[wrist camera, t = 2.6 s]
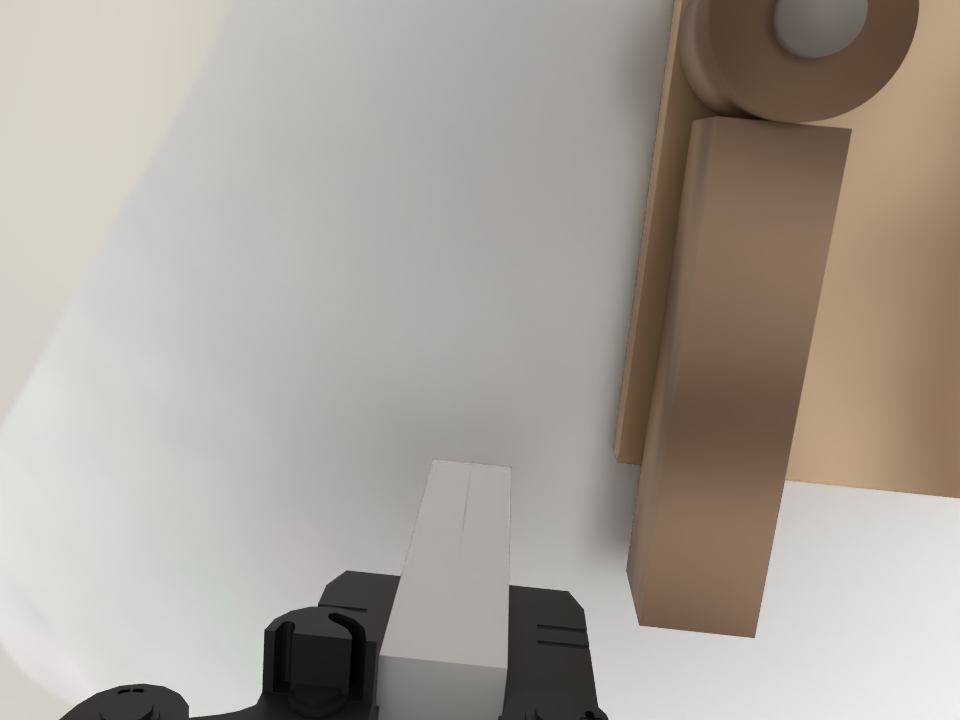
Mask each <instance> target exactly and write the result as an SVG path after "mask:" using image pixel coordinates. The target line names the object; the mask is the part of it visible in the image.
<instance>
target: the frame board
mask: <svg viewBox="0 0 960 720" xmlns="http://www.w3.org/2000/svg"><path fill="white" fill-rule="evenodd" d="M688 2H689V0H675V2H674V10H673V17H672V24H671V31H670V39H669V46H668V53H667V60H666V68H665V75H664V82H663V89H662V97H661V104H660V111H659V118H658V126H657V133H656V140H655V147H654V155H653V162H652V169H651V176H650V184H649V191H648V198H647V206H646V213H645V220H644V227H643V235H642V242H641V249H640V256H639V264H638V271H637V278H636V285H635V293H634V300H633V307H632V314H631V322H630V329H629V336H628V343H627V351H626V358H625V365H624V373H623V380H622V387H621V394H620V402H619V409H618V416H617V423H616V431H615V438H614V445H613V448H614V452H615V455H616V459H617V462H619V463H628V464H638V465H642V460H643V453H644V446H645V439H646V433H647V426H648V419H649V412H650V405H651V399H652V392H653V385H654V378H655V372H656V365H657V358H658V351H659V344H660V338H661V331H662V324H663V317H664V310H665V304H666V297H667V290H668V283H669V276H670V270H671V263H672V256H673V249H674V242H675V236H676V229H677V222H678V215H679V209H680V202H681V195H682V188H683V181H684V175H685V168H686V161H687V154H688V147H689V141H690V134H691V127H692V121H693V120H699V119H705V118H711V117H717V116H718V115H717V114H715V113H714V112H712V111H711V110H709V109H708V108H707V107H706V106H705V105H704V104H703V103H702V102H701V101H700V100H699V99H698V98H697V96H696V95H695V94H694V92H693V91H692V89H691V87H690V86H689V84H688V82H687V79H686V77H685V75H684V72H683V68H682V65H681V60H680V54H679V36H680V28H681V23H682V18H683V15H684V12H685V9H686V7H687V4H688ZM795 124H806V125H817V126H828V127H838V128H849V129H852V133H851V138H850V143H849V149H848V154H847V159H846V164H845V169H844V175H843V180H842V185H841V190H840V195H839V201H838V206H837V211H836V216H835V221H834V227H833V232H832V237H831V242H830V248H829V253H828V258H827V263H826V268H825V274H824V279H823V284H822V289H821V294H820V300H819V305H818V310H817V315H816V320H815V326H814V331H813V336H812V341H811V346H810V352H809V357H808V362H807V367H806V372H805V378H804V383H803V388H802V393H801V398H800V404H799V409H798V414H797V419H796V424H795V430H794V435H793V440H792V445H791V450H790V456H789V461H788V466H787V471H786V477H785V480H790V481H800V482H809V483H819V484H828V485H838V486H848V487H857V488H867V489H876V490H886V491H895V492H905V493H914V494H924V495H933V496H943V497H953V498H960V0H919V15H918V22H917V27H916V31H915V34H914V38H913V41H912V43H911V46H910V48H909V51H908V53H907V55H906V57H905V59H904V61H903V62H902V64H901V66H900V67H899V69H898V70H897V72H896V73H895V74H894V76H893V77H892V78H891V79H890V81H889V82H888V83H887V84H886V85H885V86H884V87H883V88H882V89H881V90H880V91H879V92H878V93H877V94H876V95H874V96H873V97H872V98H871V99H869V100H868V101H866V102H865V103H864V104H862V105H861V106H859V107H857V108H855V109H853V110H851V111H849V112H847V113H845V114H842V115H839V116H837V117H834V118H830V119H825V120H821V121H811V122H801V123H795Z"/></svg>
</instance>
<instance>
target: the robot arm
mask: <svg viewBox="0 0 960 720" xmlns="http://www.w3.org/2000/svg"><path fill="white" fill-rule="evenodd" d="M510 508H511V467H504V466H495V465H485V464H475V463H465V462H455V461H446V460H436V459H433V462H432V466H431V470H430V473H429V477H428V480H427V484H426V488H425V491H424V495H423V499H422V502H421V506H420V509H419V513H418V517H417V520H416V524H415V528H414V531H413V535H412V538H411V542H410V546H409V549H408V553H407V556H406V560H405V564H404V567H403V571H402V575H401V576H394V575H384V574H375V573H365V572H356V571H345V572H344V573H343V574H341V575H340V576H338V577H337V578H336V579H334V580H333V581H332V582H330V583H329V584H328V585H326V588H325V590H324V592H323V594H322V597H321V599H320V601H319V603H318V607H308V608H303V609H298V610H293V611H290V612H288V613H286V614H284V615H282V616H280V617H278V618H276V619H274V620H273V622H272V623H271V624H270V625H269V626H268V627H267V628H266V629H265V632H264V661H263V689H262V694H261V696H260V698H259V700H258V702H257V704H256V705H254V706H252V707H249V708H246V709H243V710H240V711H236V712H231V713H226V714H220V715H212V716H203V717H194V718H189V706H188V704H187V703H186V702H185V700H184V699H183V698H182V696H181V695H180V694H178V693H176V692H174V691H172V690H170V689H168V688H166V687H164V686H156V685H149V684H134V685H125V686H118V687H115V688H112V689H109V690H106V691H103V692H100V693H96V694H95V695H93V696H92V697H90V698H88V699H87V700H85V701H83V702H82V703H80V704H78V705H77V706H76V707H74V708H73V709H72V710H71V711H69V712H68V713H67V714H66V715H64V716H63V717H62V718H61V719H60V720H608V717H607V715H606V714H605V713H604V712H603V711H602V710H601V709H600V708H599V707H598V703H597V696H596V689H595V682H594V675H593V669H592V662H591V655H590V650H589V641H588V635H587V628H586V621H585V614H584V609H583V608H582V607H581V606H580V605H579V603H578V602H577V601H576V600H575V599H574V598H573V596H572V595H571V594H570V593H569V592H568V591H560V590H550V589H541V588H531V587H522V586H512V585H509V560H510Z"/></svg>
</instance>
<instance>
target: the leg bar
mask: <svg viewBox="0 0 960 720" xmlns="http://www.w3.org/2000/svg"><path fill="white" fill-rule="evenodd" d="M918 15H919V0H689V2H688V4H687V7H686V9H685V12H684V15H683V18H682V23H681V28H680V36H679V54H680V60H681V65H682V68H683V72H684V75H685V77H686V79H687V82H688V84H689V86H690V87H691V89H692V91H693V92H694V94H695V95H696V96H697V98H698V99H699V100H700V101H701V102H702V103H703V104H704V105H705V106H706V107H707V108H708V109H709V110H711V111H712V112H714V113H715V114H717V115H718V116H717V117H711V118H705V119H699V120H693V121H692V127H691V134H690V141H689V147H688V154H687V161H686V168H685V175H684V181H683V188H682V195H681V202H680V209H679V215H678V222H677V229H676V236H675V242H674V249H673V256H672V263H671V270H670V276H669V283H668V290H667V297H666V304H665V310H664V317H663V324H662V331H661V338H660V344H659V351H658V358H657V365H656V372H655V378H654V385H653V392H652V399H651V405H650V412H649V419H648V426H647V433H646V439H645V446H644V453H643V460H642V467H641V473H640V480H639V487H638V494H637V501H636V507H635V514H634V521H633V528H632V534H631V541H630V548H629V555H628V562H627V568H626V571H627V576H628V580H629V584H630V588H631V592H632V597H633V601H634V605H635V609H636V614H637V618H638V622H639V625H640V626H650V627H659V628H668V629H677V630H686V631H695V632H704V633H713V634H722V635H731V636H740V637H749V638H755V633H756V627H757V622H758V617H759V612H760V607H761V601H762V596H763V591H764V586H765V581H766V575H767V570H768V565H769V560H770V555H771V549H772V544H773V539H774V534H775V529H776V523H777V518H778V513H779V508H780V503H781V497H782V492H783V487H784V482H785V477H786V471H787V466H788V461H789V456H790V450H791V445H792V440H793V435H794V430H795V424H796V419H797V414H798V409H799V404H800V398H801V393H802V388H803V383H804V378H805V372H806V367H807V362H808V357H809V352H810V346H811V341H812V336H813V331H814V326H815V320H816V315H817V310H818V305H819V300H820V294H821V289H822V284H823V279H824V274H825V268H826V263H827V258H828V253H829V248H830V242H831V237H832V232H833V227H834V221H835V216H836V211H837V206H838V201H839V195H840V190H841V185H842V180H843V175H844V169H845V164H846V159H847V154H848V149H849V143H850V138H851V133H852V129H849V128H838V127H828V126H817V125H806V124H795V123H801V122H811V121H821V120H825V119H830V118H834V117H837V116H839V115H842V114H845V113H847V112H849V111H851V110H853V109H855V108H857V107H859V106H861V105H862V104H864V103H865V102H866V101H868V100H869V99H871V98H872V97H873V96H874V95H876V94H877V93H878V92H879V91H880V90H881V89H882V88H883V87H884V86H885V85H886V84H887V83H888V82H889V81H890V79H891V78H892V77H893V76H894V74H895V73H896V72H897V70H898V69H899V67H900V66H901V64H902V62H903V61H904V59H905V57H906V55H907V53H908V51H909V48H910V46H911V43H912V41H913V38H914V34H915V31H916V27H917V22H918Z"/></svg>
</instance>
